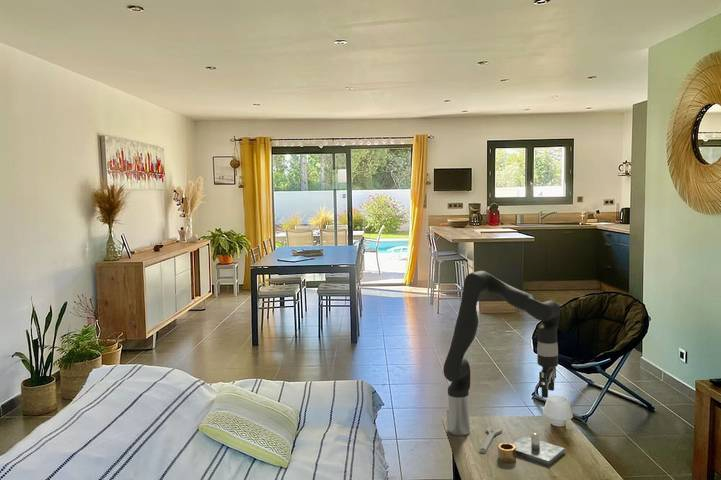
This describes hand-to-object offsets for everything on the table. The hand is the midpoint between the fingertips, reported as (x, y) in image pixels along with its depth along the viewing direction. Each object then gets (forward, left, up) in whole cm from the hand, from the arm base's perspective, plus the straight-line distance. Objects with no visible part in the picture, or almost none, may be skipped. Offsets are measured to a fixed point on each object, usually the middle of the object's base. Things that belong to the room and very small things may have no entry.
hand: (548, 393), depth 206 cm
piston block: (-8, +4, -27) cm, 28 cm away
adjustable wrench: (-29, +1, -28) cm, 40 cm away
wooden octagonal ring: (-14, -8, -27) cm, 32 cm away
